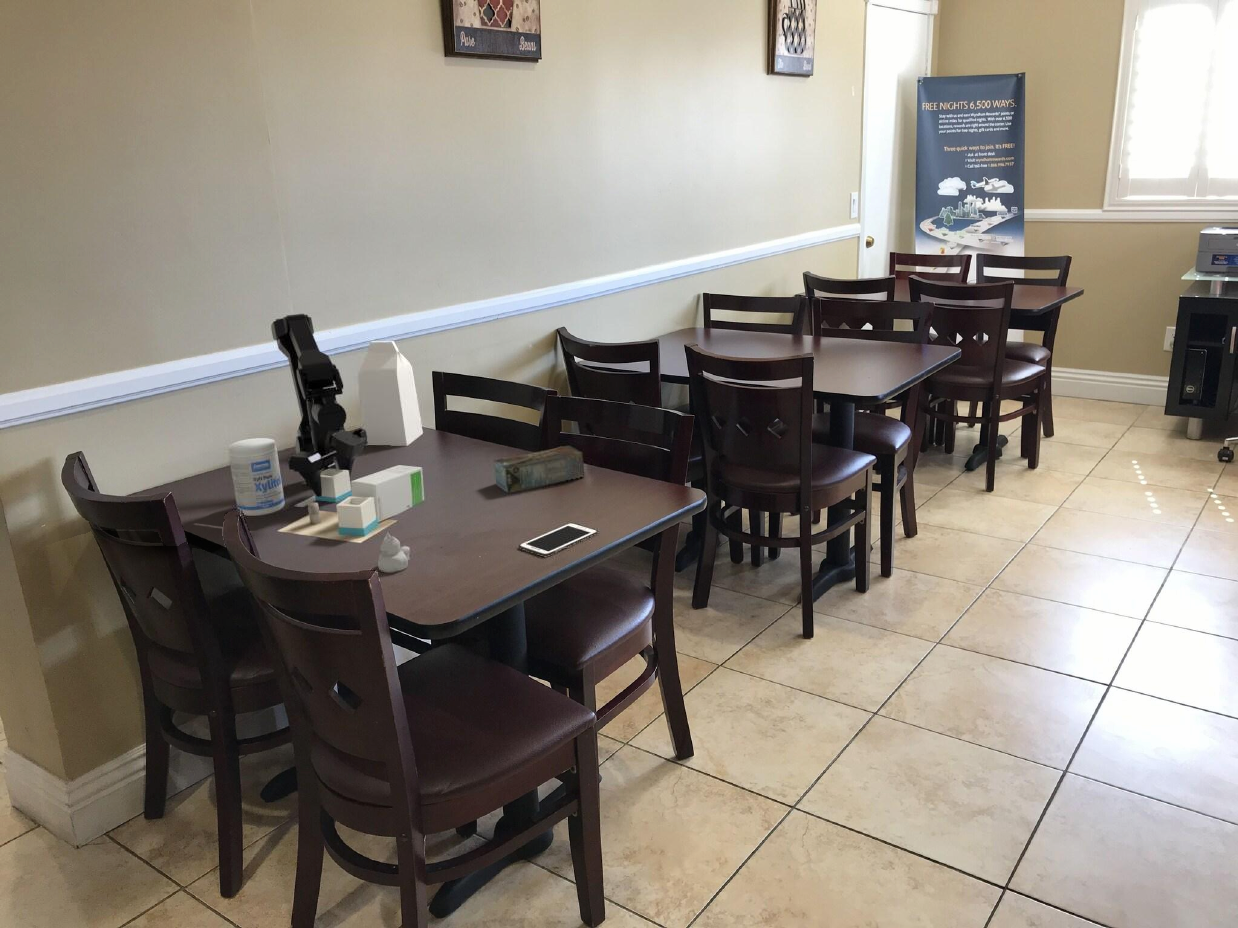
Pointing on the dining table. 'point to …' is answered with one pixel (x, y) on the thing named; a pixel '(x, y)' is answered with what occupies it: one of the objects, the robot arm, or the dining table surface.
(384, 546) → the white figurine
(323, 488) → the sleeve
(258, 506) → the supplement tub
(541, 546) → the cell phone
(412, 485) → the skincare box
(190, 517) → the dining table surface
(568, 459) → the beverage carton
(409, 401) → the milk
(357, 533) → the sleeve
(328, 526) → the pin board
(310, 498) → the mat
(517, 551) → the dining table surface
